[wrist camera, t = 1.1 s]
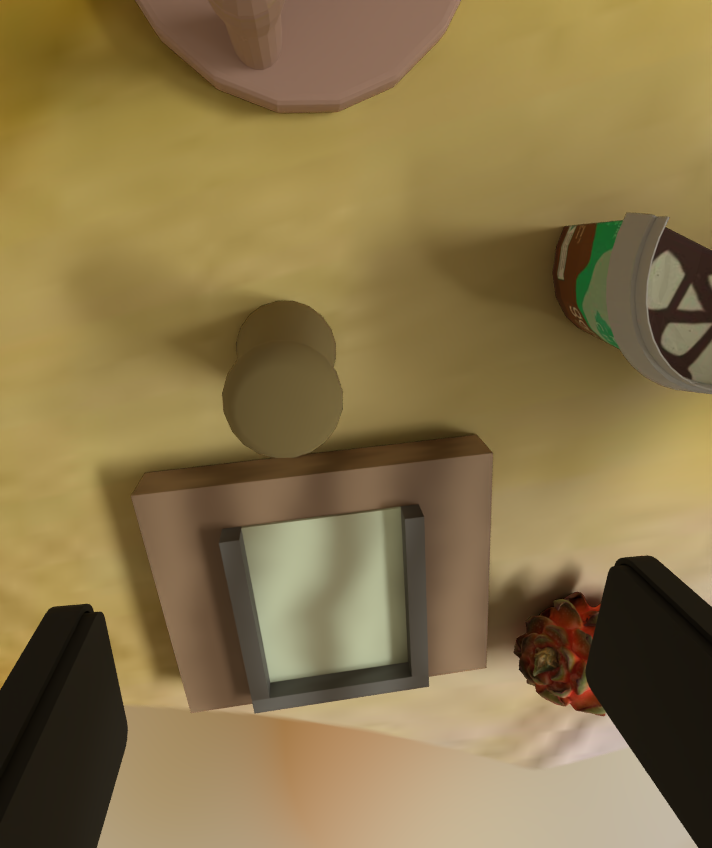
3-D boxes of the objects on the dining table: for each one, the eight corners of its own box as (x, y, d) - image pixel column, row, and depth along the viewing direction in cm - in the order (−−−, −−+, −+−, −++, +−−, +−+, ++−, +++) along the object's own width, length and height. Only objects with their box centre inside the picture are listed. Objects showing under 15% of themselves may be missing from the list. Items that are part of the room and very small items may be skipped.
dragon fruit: (480, 608, 42) (604, 571, 44) (512, 718, 40) (640, 673, 42) (528, 618, 34) (676, 572, 36) (571, 757, 32) (725, 699, 34)
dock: (476, 434, 34) (502, 463, 30) (473, 637, 41) (493, 684, 37) (144, 472, 32) (122, 509, 28) (198, 678, 39) (186, 732, 35)
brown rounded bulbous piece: (216, 329, 30) (175, 383, 19) (307, 282, 29) (314, 311, 19) (267, 414, 32) (255, 502, 22) (352, 371, 31) (380, 440, 21)
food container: (495, 315, 31) (580, 352, 22) (543, 215, 29) (657, 210, 20) (651, 380, 34) (784, 437, 25) (703, 293, 32) (868, 320, 23)
